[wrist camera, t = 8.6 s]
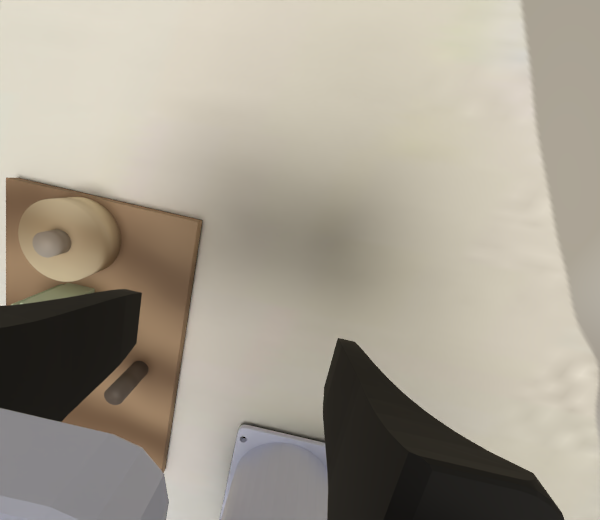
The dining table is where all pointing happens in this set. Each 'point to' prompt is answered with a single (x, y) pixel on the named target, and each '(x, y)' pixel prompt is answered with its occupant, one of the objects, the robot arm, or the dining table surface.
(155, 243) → the gear board
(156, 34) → the dining table surface
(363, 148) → the dining table surface
